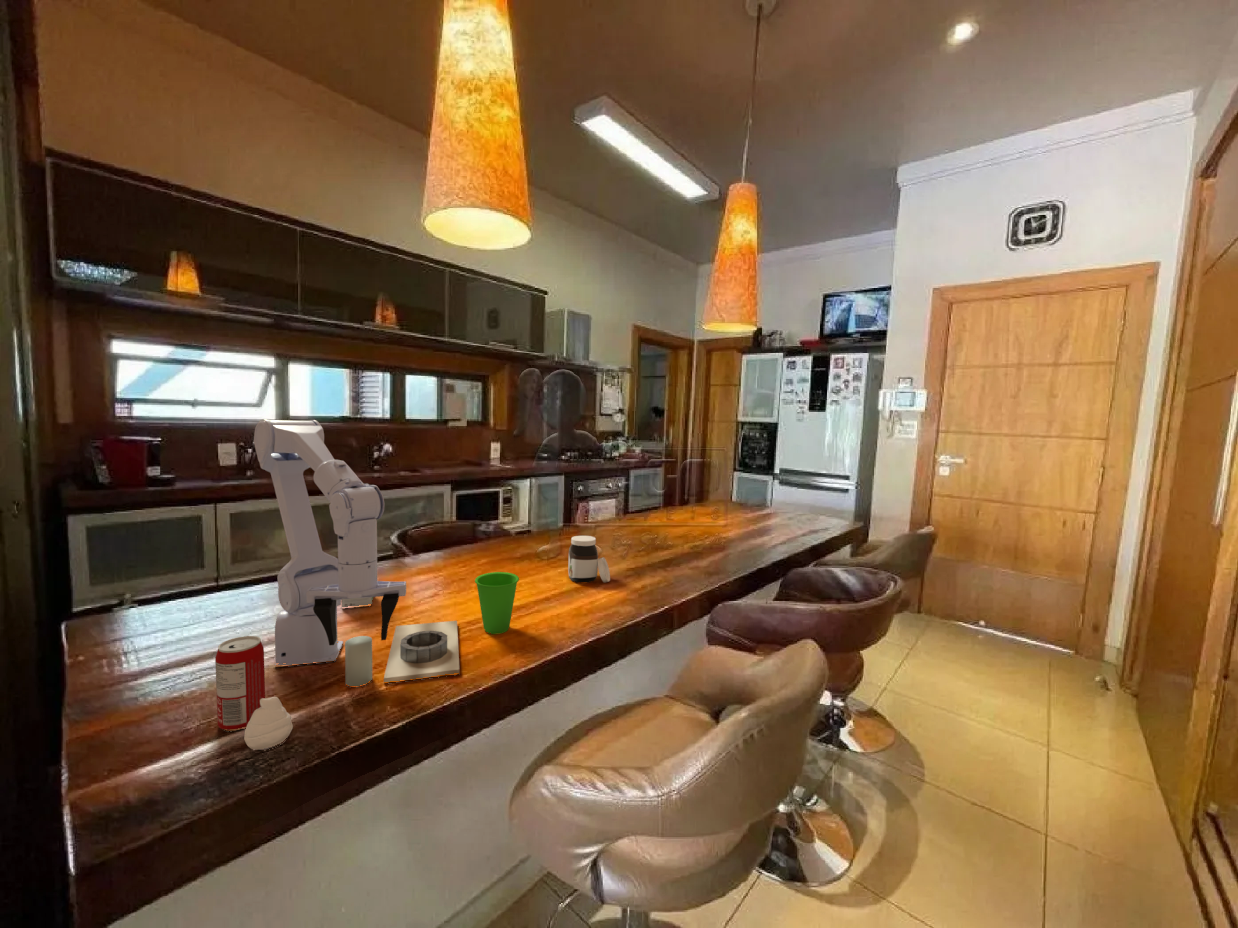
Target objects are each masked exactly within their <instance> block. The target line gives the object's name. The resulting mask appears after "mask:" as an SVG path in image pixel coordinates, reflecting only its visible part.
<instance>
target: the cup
mask: <svg viewBox="0 0 1238 928" xmlns="http://www.w3.org/2000/svg"><path fill="white" fill-rule="evenodd" d="M519 580H520V578H519V576H518V575H516V574H515V573H512V572H508V571H507V572H506V571H493V572H487V573H484V574H483V573H482V574H480V575H478V576H476V578H474V582H475V584H476V588H477V594H478V600H479V607H480V612H481V618H482V624H483V625H482V626H483V629H484V631H485V632H486V633H487V632H488V634H490V633H491V635H499V634H504V633H506V632H507V631H509V628H510V625H511V621H512V615H513V614H512V612H513V607H514V602H515V601H514V600H515V598H516V591H517V585H518V582H519Z"/></svg>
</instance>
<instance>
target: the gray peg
mask: <svg viewBox="0 0 1238 928" xmlns="http://www.w3.org/2000/svg"><path fill="white" fill-rule="evenodd" d="M344 655H345V657H344V658H345V659H344V664H345V665H344V666H345V667H344V670H345V685H346V684H347V685H349V686H360V685H363V684H366V683H368V682H369V681H371V680H372V681H373V638H372V637H371V636H368V635H359V636H358V635H357V636H354V637H351V638H347V640H346V641H345V642H344ZM372 681H371V682H372Z"/></svg>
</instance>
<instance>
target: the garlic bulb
mask: <svg viewBox="0 0 1238 928" xmlns="http://www.w3.org/2000/svg"><path fill="white" fill-rule="evenodd" d="M260 705H261V707H260V708H258V709H256V710H255V711H254V713H253V714H252V717H251V719H250V721H249V722H248V724H247V727H246V729H244V735H243V739H244V742H245V744H246V745H247V747H248V748H250V749H251V750H252V749H264V748H268V747H272V746H275V745H277V744H279V743H281V742H283V741H284V740H285V739H286V738H287V739H288V737H289V736H290V734H291V732H292V731H293V727H294V725H293V723H292V716H291V714H290V713H289V712H287V710H286V709H287V708H285V707H284V706H283V704H282V702H281V700H280V699H279V697H277V696H272V697H268V698H266V697H265V698H262V699H260ZM287 739H286V740H287ZM286 740H285V741H286ZM285 741H284V742H285ZM284 742H283V743H284Z"/></svg>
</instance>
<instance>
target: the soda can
mask: <svg viewBox="0 0 1238 928" xmlns="http://www.w3.org/2000/svg"><path fill="white" fill-rule="evenodd" d="M216 651H217V652H216V654H215V659H214V661H215V683H216V684H215V686H216V687H215V690H216V711H217V716H216V717H217V726H219V727H218V729H221V730H223V729H227V730H230V729H238V728H242V727H246V726H247V724H248V722H249V721H250V719H251V717H252V714H253V713H254V711H255V710H256V709H258V708H260V707H261V705H260V699H262V698H266V680H265V679H266V677H265V676H266V675H265V674H266V673H265V672H266V671H265V648H264V644H263V642H262V640H261V637H259V636H256V635H245V636H237V637H234V638H230V639H227V640H225V641H222V642H221V643H220V644H219V645H218V646H217V650H216Z"/></svg>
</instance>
